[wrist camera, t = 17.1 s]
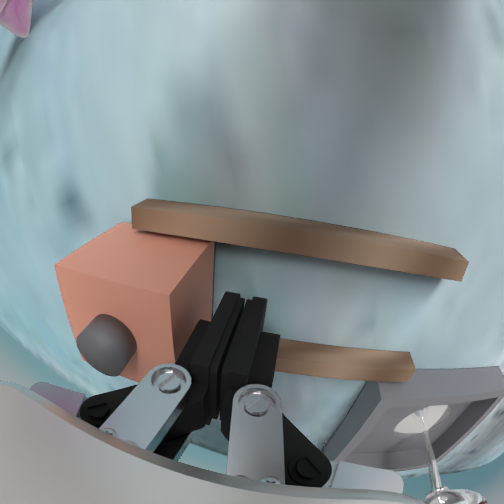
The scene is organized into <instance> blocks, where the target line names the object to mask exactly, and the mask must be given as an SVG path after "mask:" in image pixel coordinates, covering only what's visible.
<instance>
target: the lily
mask: <svg viewBox="0 0 504 504" xmlns="http://www.w3.org/2000/svg"><path fill="white" fill-rule="evenodd" d="M31 13H32V0H0V24H1V25H2V26H3V27H5V28H6V29H7V30H9V31H10V32H12V33H13V34H15V35H17V36H19V37H21V38H26V37H27V36H28V35H29V31H30V24H31Z"/></svg>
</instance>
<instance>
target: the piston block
mask: <svg viewBox="0 0 504 504" xmlns="http://www.w3.org/2000/svg"><path fill="white" fill-rule="evenodd" d="M214 249H215V241H208V240H202V239H196V238H189V237H183V236H176V235H170V234H163V233H157V232H150V231H144V230H137V229H132V224H131V223H124V222H121V223H119V224H118V225H116V226H114V227H113V228H111V229H109V230H107V231H106V232H104V233H103V234H101V235H99V236H98V237H96V238H94V239H93V240H91V241H90V242H88V243H86V244H85V245H83V246H82V247H80V248H79V249H77V250H75V251H74V252H72V253H71V254H69V255H68V256H66V257H65V258H63V259H62V260H60V261H59V262H57V263H56V264H55V265H54V266H55V271H56V275H57V279H58V284H59V288H60V291H61V295H62V299H63V303H64V306H65V310H66V313H67V316H68V319H69V323H70V326H71V329H72V332H73V335H74V338H75V340H76V343H77V347H78V349H79V351H80V354H81V357H82V359H83V360H84V361H86V362H88V363H89V364H90V365H91V366H92V367H94V368H95V369H96V370H98V371H99V372H101V373H103V374H105V375H108V376H119V375H120V376H123V377H125V378H128V379H131V380H133V381H136V382H139V383H140V382H141V380H142V379H143V378H144V377H145V376H146V375H147V374H148V373H149V371H150V370H152V369H153V368H154V367H156V366H158V365H161V364H175V362H176V361H177V359H178V357H179V355H180V353H181V351H182V350H183V348H184V346H185V344H186V342H187V341H188V339H189V337H190V335H191V334H192V332H193V330H194V328H195V326H196V325H197V323H198V321H199V320H200V319H202V320H207V321H211V320H212V295H213V270H214Z"/></svg>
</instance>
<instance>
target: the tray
mask: <svg viewBox="0 0 504 504" xmlns="http://www.w3.org/2000/svg"><path fill="white" fill-rule="evenodd" d="M503 397H504V375H503V373H502V372H501V370H500V368H499V366H495V367H482V368H463V369H416V371H415V372H414V374H413V376H412V377H411V379H410V380H409V382H386V381H367V382H366V384H365V386H364V388H363V389H362V391H361V393H360V394H359V396H358V398H357V399H356V401H355V403H354V404H353V406H352V408H351V409H350V411H349V412H348V414H347V415H346V417H345V419H344V420H343V422H342V423H341V425H340V426H339V428H338V429H337V431H336V432H335V433H334V435H333V436H332V438H331V439H330V441H329V442H328V443H327V445H326V446H325V447H324V449H323V450H322V453H323V454H324V455H325V456H326V457H327V458H328V460H330V461H334V462H339V461H344V462H348V463H353V464H358V465H363V466H368V467H374V468H380V469H386V470H391V471H394V472H396V471H404V470H411V469H418V468H423V467H428V460H427V453H426V447H425V441H424V435H421V436H418V437H414V438H399V437H397V436H395V435H394V429H395V427H396V426H397V425H398V424H399V423H400V422H401V421H402V420H403V419H404V418H406V417H407V416H409V415H410V414H412V413H414V412H416V411H418V410H420V409H423V408H426V407H428V406H437V405H448V406H449V407H450V409H451V412H450V415H449V417H448V418H447V419H446V420H445V421H444V422H443V423H442V424H441V425H440V426H438V427H437V428H436V429H434V430H432V431H430V432H428V434H429V438H430V441H431V445H432V448H433V452H434V456H435V460H436V463H437V462H438V461H440V460H441V459H442V458H443V457H444V456H446V455H447V454H448V453H449V452H450V451H451V450H453V449H454V448H455V447H456V446H457V445H458V444H459V443H460V442H461V441H463V440H464V439H465V438H466V437H467V436H468V435H469V434H470V433H471V432H472V431H473V430H474V429H475V428H476V427H477V426H478V425H479V424H480V423H481V422H482V421H483V420H484V419H485V417H486V416H487V415H488V414H489V413H490V412H491V411H492V410H493V409H494V408H495V406H496V405H497V404H498V403H499V402H500V401H501V399H502V398H503Z"/></svg>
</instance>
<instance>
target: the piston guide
mask: <svg viewBox="0 0 504 504" xmlns="http://www.w3.org/2000/svg"><path fill="white" fill-rule="evenodd" d="M131 212H132V229H137V230H144V231H150V232H157V233H163V234H170V235H176V236H183V237H189V238H196V239H202V240H208V241H215V242H221V243H227V244H234V245H240V246H246V247H253V248H259V249H265V250H272V251H278V252H284V253H290V254H297V255H303V256H309V257H315V258H322V259H328V260H334V261H340V262H346V263H352V264H358V265H365V266H371V267H377V268H383V269H389V270H395V271H401V272H407V273H413V274H419V275H425V276H431V277H437V278H443V279H449V280H455V281H462V278H463V276H464V273H465V271H466V268H467V266H468V263H469V261H467V260H466V259H465V258H464V257H463V256H462V255H461V254H460V253H459V252H458V251H457V250H456V249H454V248H449V247H445V246H440V245H436V244H431V243H427V242H422V241H417V240H413V239H408V238H403V237H398V236H393V235H388V234H383V233H378V232H373V231H368V230H362V229H357V228H351V227H346V226H340V225H335V224H329V223H323V222H317V221H311V220H305V219H299V218H293V217H286V216H280V215H273V214H267V213H260V212H253V211H246V210H239V209H231V208H224V207H216V206H208V205H200V204H192V203H183V202H175V201H166V200H156V199H146V200H144V201H142V202H140V203H138V204H136V205H134V206H132V207H131ZM275 371H279V372H285V373H293V374H300V375H308V376H317V377H326V378H337V379H349V380H364V381H386V382H409V380H410V379H411V377H412V376H413V374H414V372H415V371H416V369H415V366H414V363H413V360H412V358H411V355H410V352H396V351H382V350H370V349H359V348H348V347H339V346H330V345H322V344H314V343H307V342H300V341H293V340H286V339H280V341H279V347H278V353H277V359H276V365H275Z"/></svg>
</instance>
